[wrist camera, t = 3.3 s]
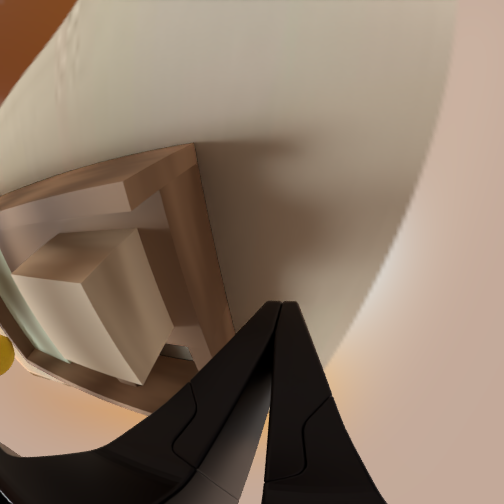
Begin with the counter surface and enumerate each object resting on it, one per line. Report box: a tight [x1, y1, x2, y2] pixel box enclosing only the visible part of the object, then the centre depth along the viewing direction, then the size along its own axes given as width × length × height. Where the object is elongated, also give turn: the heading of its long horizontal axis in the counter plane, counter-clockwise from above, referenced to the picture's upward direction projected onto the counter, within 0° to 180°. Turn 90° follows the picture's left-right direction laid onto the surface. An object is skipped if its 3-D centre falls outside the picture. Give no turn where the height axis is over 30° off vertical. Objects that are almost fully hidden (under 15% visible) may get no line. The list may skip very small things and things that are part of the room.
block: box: [11, 228, 174, 385], centre depth 9 cm, size 4×4×3 cm
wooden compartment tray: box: [0, 143, 235, 416], centre depth 14 cm, size 20×14×4 cm
